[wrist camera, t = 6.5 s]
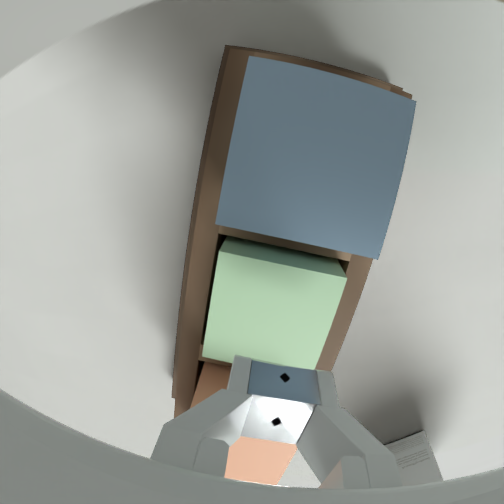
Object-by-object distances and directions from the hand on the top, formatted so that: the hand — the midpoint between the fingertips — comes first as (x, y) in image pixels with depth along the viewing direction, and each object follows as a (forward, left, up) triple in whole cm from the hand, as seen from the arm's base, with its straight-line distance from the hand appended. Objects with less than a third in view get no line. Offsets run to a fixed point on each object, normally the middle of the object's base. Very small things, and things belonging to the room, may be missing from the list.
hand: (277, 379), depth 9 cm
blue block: (0, -6, -6) cm, 9 cm away
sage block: (0, 0, -9) cm, 9 cm away
